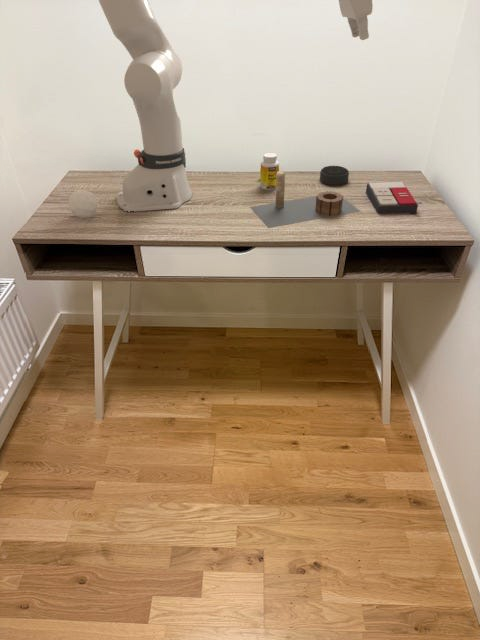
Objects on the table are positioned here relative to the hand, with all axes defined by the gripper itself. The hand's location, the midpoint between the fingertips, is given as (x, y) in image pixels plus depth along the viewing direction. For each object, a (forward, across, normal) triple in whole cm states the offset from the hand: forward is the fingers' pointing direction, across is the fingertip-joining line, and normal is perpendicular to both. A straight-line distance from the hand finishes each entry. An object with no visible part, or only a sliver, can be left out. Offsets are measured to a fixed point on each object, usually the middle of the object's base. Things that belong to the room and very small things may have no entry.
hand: (360, 37), depth 112 cm
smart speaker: (+40, -24, -12) cm, 48 cm away
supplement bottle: (+33, -19, -32) cm, 50 cm away
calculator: (+45, -7, 0) cm, 46 cm away
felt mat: (+37, -2, -23) cm, 44 cm away
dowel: (+34, -4, -30) cm, 46 cm away
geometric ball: (+18, +1, -82) cm, 84 cm away
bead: (+39, -2, -17) cm, 42 cm away
